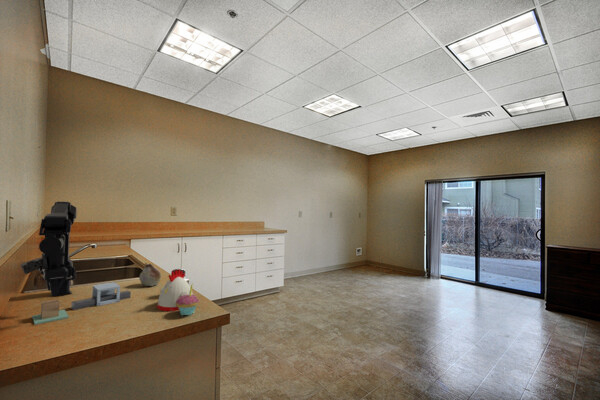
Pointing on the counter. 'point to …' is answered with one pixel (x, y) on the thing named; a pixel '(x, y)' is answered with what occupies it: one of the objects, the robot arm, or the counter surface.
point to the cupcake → (187, 303)
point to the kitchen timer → (173, 291)
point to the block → (50, 309)
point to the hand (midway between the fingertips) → (51, 293)
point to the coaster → (39, 320)
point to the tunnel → (106, 292)
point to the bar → (92, 301)
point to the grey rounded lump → (150, 275)
